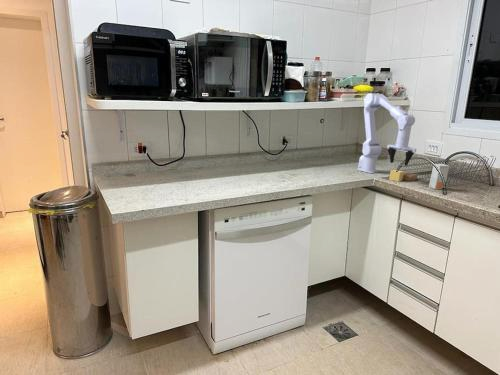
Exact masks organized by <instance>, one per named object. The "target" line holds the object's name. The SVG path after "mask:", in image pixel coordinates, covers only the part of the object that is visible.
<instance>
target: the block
mask: <svg viewBox="0 0 500 375" xmlns="http://www.w3.org/2000/svg"><path fill="white" fill-rule="evenodd" d="M397 170H398V169H391V170H390V174H389V178H388V179H389V180H390V181H395V182H402V181H404V180H403V175H404V172H405V171H404V170H399V171H398V172H396V171H397Z"/></svg>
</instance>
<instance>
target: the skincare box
mask: <svg viewBox="0 0 500 375" xmlns="http://www.w3.org/2000/svg"><path fill="white" fill-rule="evenodd" d="M434 164H435V165H436V166H437V167H438V169H439V170H440V171H441V172H442V174H443V177H444V179H445V182H446V183H447V179H448V175H449V171H450V165H448V164H445V163H434ZM428 184H429V185H428V187H429V188H431V189H433V190H443V189H442V180H441V177H440V174H439V172H438V171H437V170H436V168H435V167H434V166H432V171H431V174H430V179H429V183H428Z"/></svg>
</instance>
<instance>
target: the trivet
mask: <svg viewBox="0 0 500 375" xmlns="http://www.w3.org/2000/svg"><path fill="white" fill-rule="evenodd" d="M418 176H419V174H416V173H412V172H406V171H404V175H403V180H402V181H408V182H412V181H416V180H418Z"/></svg>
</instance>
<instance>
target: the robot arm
mask: <svg viewBox="0 0 500 375" xmlns="http://www.w3.org/2000/svg"><path fill="white" fill-rule="evenodd" d="M363 104H364V108H363V116H364V127H365V141H364V142H363V143H362V150H361V152H362V154H361V156H359V160H358V166H357V169H356V170H357V171H360V172H365V173H369V174H374V173H378V172H379V171H378V170H376V168H377V165H378V164H377V163H378V157H379V156H380V155H381V154H382V149H383V148H382V146H381V142H380V141H379V140H378V139H377V129H376V117H375V111H377V110H378V109H379V108H380V107H381V106H382V107H383V108H385V110H387V111H388V112H389V116H391V117H392V118H394V119H395V120H396V121H397V125H398V128H397V129H398V130H397V131H398V132H397V138H396V144H387V147H386V149H387V152H388V155H389V162H390V164H393V163H394V161H395V155H396V152H397V151H402V152H405V160H404V166H408V164H409V162H410V160H411V159H412V157H413V156H414V154H415V153H417V148H414V147H410V146H409V141H410V137H411V130H412V126H413V125H414V124H415V122H416V118H415V115H414V114H408V111H405V110H403V107H402V106H401V105H400V106H398V105H397V106H396V105H394V104H393V103H392V102H391V101H390V100H389V99H388V98H387V96H386V95H384V94H383V93H372V92H370V93H367V94H366V95H365V97H364V98H363Z"/></svg>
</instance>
